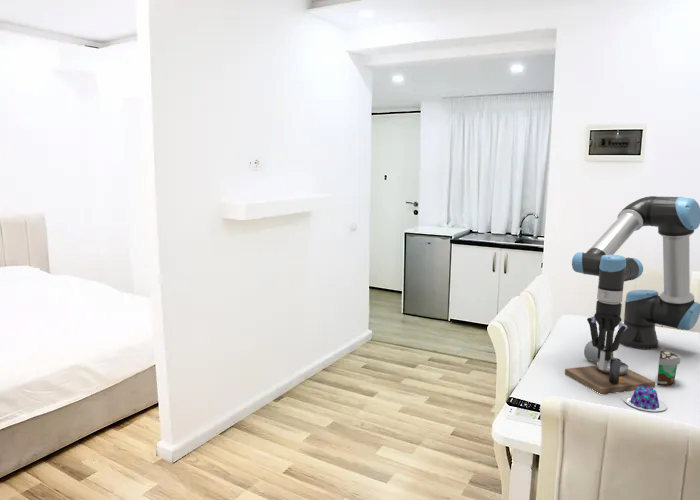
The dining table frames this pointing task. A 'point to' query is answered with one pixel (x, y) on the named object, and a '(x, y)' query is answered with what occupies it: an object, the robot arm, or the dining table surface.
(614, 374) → the steel serving spoon
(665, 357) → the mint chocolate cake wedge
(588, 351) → the ceramic mug
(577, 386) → the dining table surface
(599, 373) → the wooden cutting board
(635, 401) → the pudding
